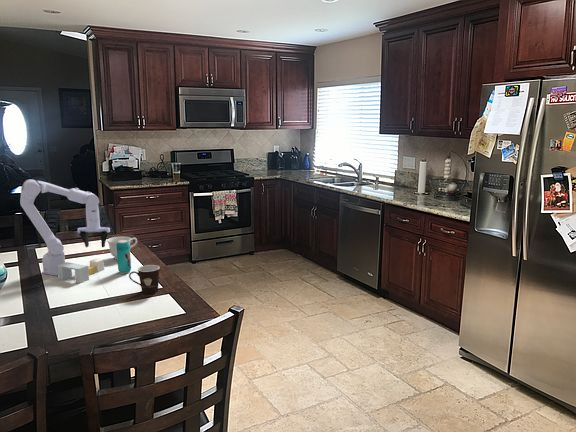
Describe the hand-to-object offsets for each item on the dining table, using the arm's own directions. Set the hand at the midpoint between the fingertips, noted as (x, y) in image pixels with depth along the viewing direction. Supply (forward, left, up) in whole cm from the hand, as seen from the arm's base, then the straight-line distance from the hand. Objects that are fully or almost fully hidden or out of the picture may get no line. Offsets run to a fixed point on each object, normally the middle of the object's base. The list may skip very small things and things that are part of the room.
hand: (95, 246), depth 224 cm
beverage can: (+18, -1, -10) cm, 21 cm away
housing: (+5, -18, -10) cm, 21 cm away
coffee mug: (+43, -16, -10) cm, 47 cm away
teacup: (+1, +17, -10) cm, 20 cm away
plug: (+5, -8, -10) cm, 14 cm away
